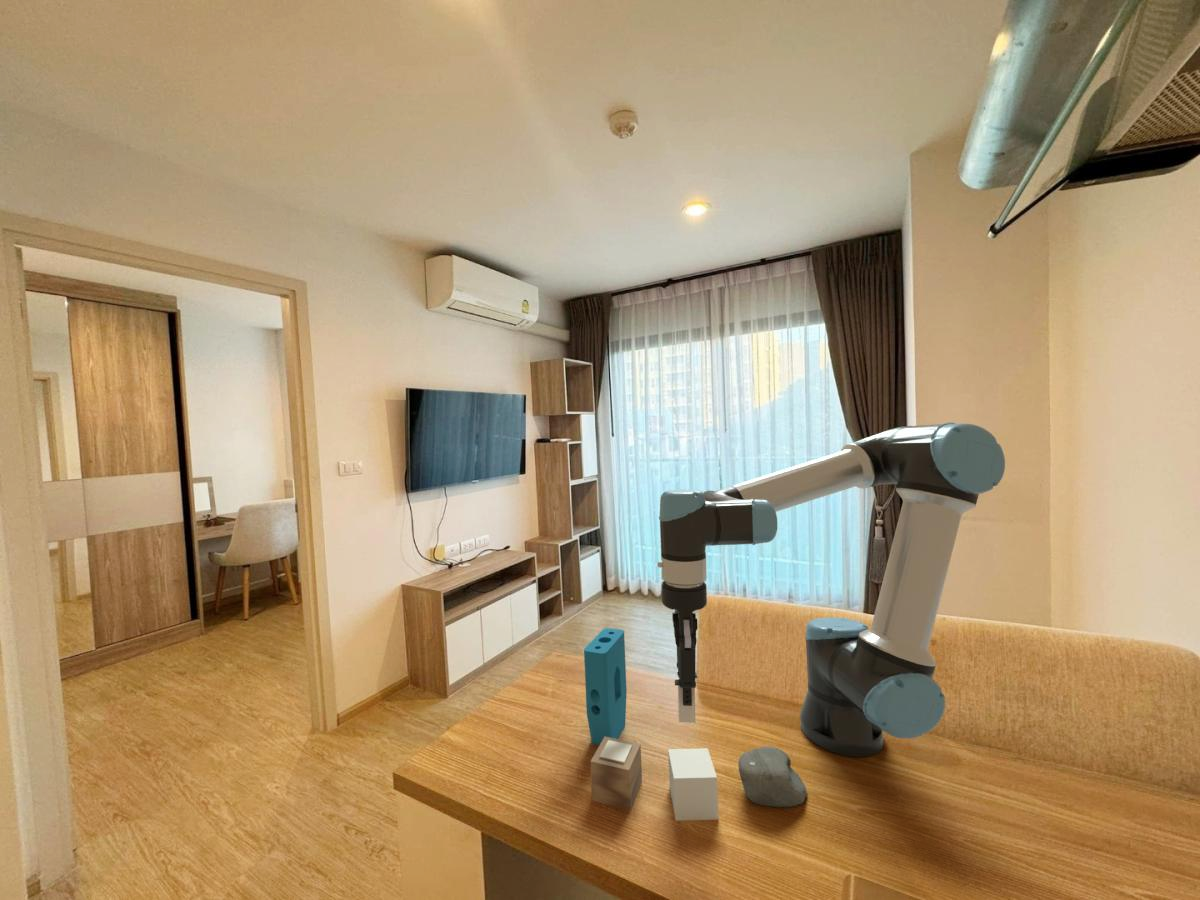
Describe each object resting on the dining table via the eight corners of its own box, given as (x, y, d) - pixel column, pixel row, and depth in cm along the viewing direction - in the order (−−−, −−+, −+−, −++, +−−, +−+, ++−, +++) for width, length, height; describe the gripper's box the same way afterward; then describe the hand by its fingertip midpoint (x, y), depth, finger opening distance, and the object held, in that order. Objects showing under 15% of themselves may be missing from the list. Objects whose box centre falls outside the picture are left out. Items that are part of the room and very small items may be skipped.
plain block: (709, 787, 80) (707, 748, 80) (718, 820, 73) (717, 777, 73) (669, 788, 80) (668, 749, 80) (675, 821, 73) (673, 778, 73)
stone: (816, 818, 73) (783, 760, 73) (765, 837, 74) (734, 780, 75) (803, 778, 81) (774, 726, 82) (758, 795, 83) (730, 745, 84)
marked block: (642, 781, 82) (640, 742, 82) (630, 811, 76) (629, 768, 76) (606, 773, 85) (604, 734, 85) (592, 801, 78) (590, 759, 78)
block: (609, 753, 90) (605, 654, 90) (586, 748, 92) (582, 650, 92) (629, 719, 101) (625, 630, 101) (608, 714, 103) (604, 627, 103)
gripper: (660, 570, 83) (663, 697, 83) (662, 593, 70) (666, 744, 71) (701, 570, 82) (704, 699, 83) (711, 594, 70) (715, 746, 70)
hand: (687, 719), depth 77 cm, fingers closed
